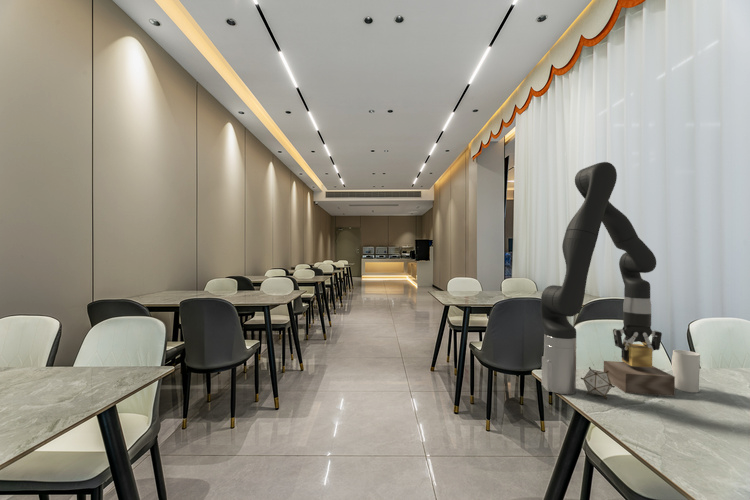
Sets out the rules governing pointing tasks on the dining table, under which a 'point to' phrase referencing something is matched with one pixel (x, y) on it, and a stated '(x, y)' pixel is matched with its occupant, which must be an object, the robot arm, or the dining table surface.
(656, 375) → the riser
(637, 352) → the ochre block
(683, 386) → the mug
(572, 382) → the robot arm
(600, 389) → the game die
